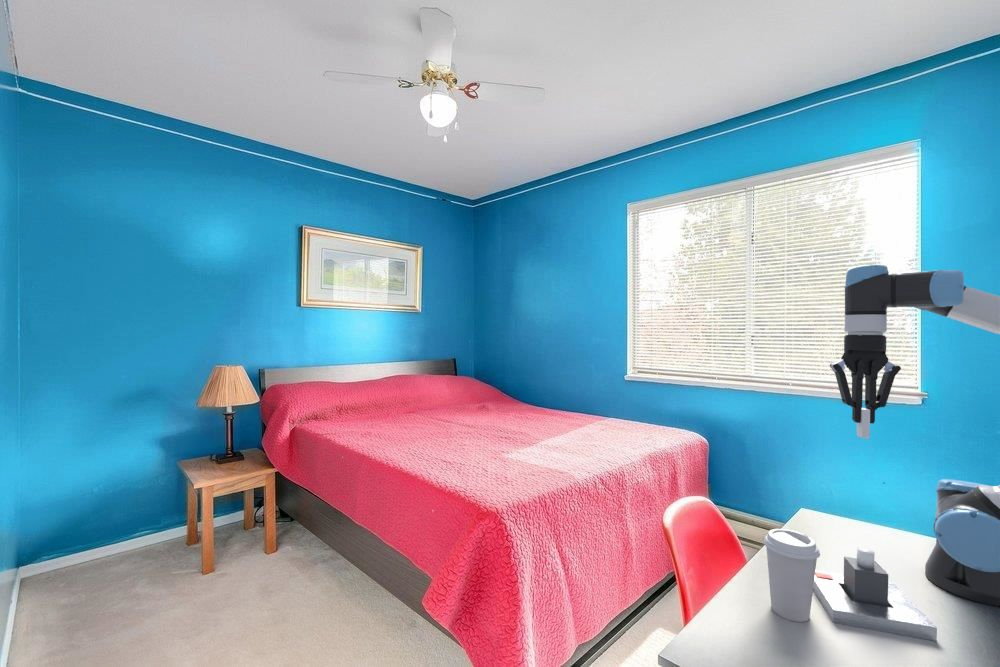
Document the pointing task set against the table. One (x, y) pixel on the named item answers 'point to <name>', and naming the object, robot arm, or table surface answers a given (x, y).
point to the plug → (865, 579)
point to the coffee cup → (791, 572)
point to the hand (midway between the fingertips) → (863, 437)
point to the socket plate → (872, 609)
